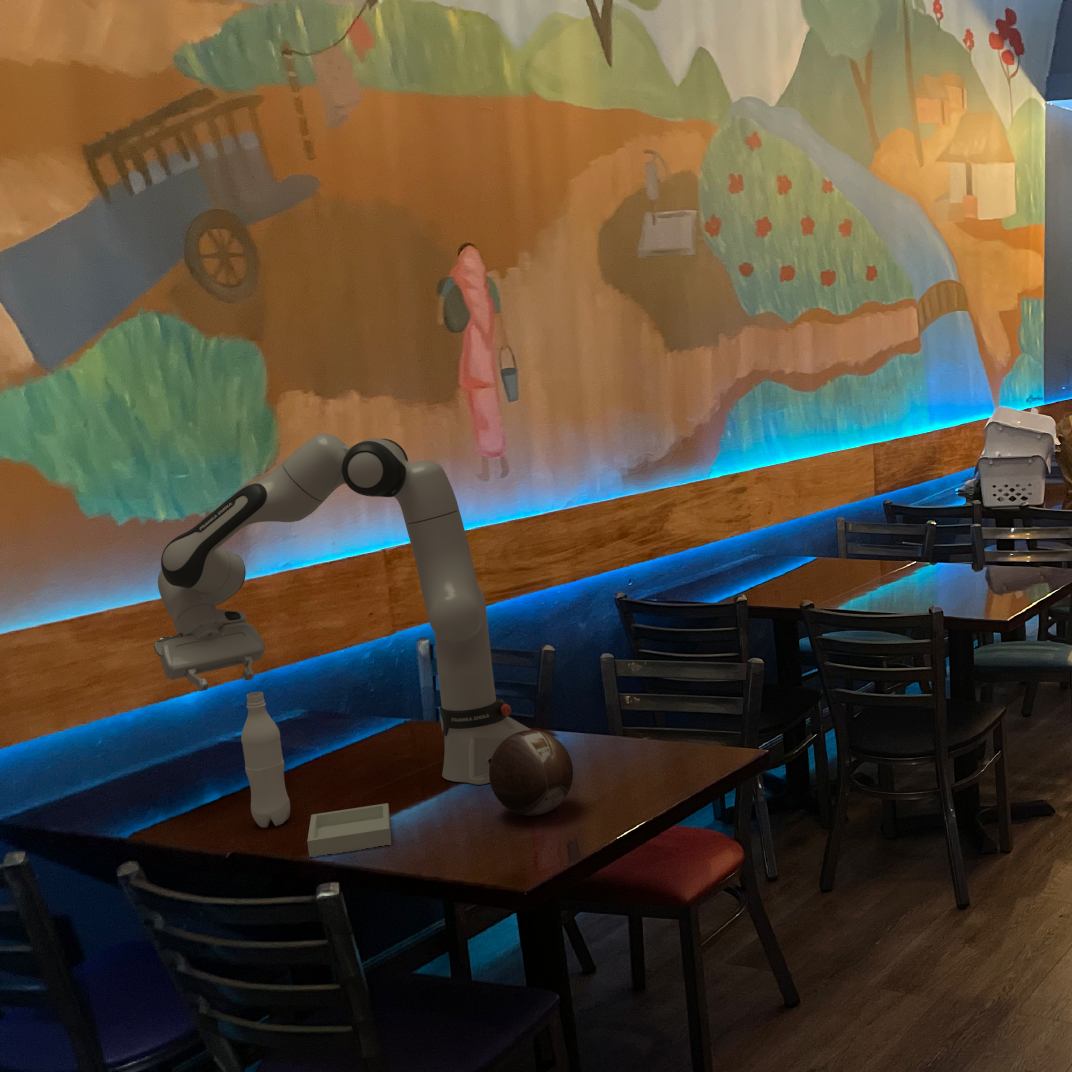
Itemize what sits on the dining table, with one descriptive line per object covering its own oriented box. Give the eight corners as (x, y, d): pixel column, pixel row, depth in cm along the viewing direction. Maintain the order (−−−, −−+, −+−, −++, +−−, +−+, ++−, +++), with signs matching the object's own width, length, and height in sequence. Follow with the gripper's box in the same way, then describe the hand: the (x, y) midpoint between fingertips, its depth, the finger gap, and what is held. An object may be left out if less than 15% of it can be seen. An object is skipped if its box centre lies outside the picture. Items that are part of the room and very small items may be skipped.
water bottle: (282, 829, 223) (264, 697, 221) (247, 830, 225) (228, 700, 222) (298, 815, 230) (280, 687, 227) (263, 816, 232) (245, 690, 229)
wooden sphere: (537, 833, 206) (527, 748, 204) (476, 820, 216) (467, 739, 215) (594, 806, 217) (585, 724, 215) (534, 794, 227) (524, 716, 225)
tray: (390, 818, 222) (388, 803, 222) (391, 845, 208) (389, 828, 208) (313, 830, 221) (311, 814, 220) (309, 857, 207) (307, 841, 206)
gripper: (153, 629, 233) (178, 685, 227) (251, 610, 246) (278, 662, 239) (148, 650, 237) (173, 705, 231) (245, 630, 250) (271, 681, 243)
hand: (227, 683), depth 235 cm, fingers open, 8 cm apart
